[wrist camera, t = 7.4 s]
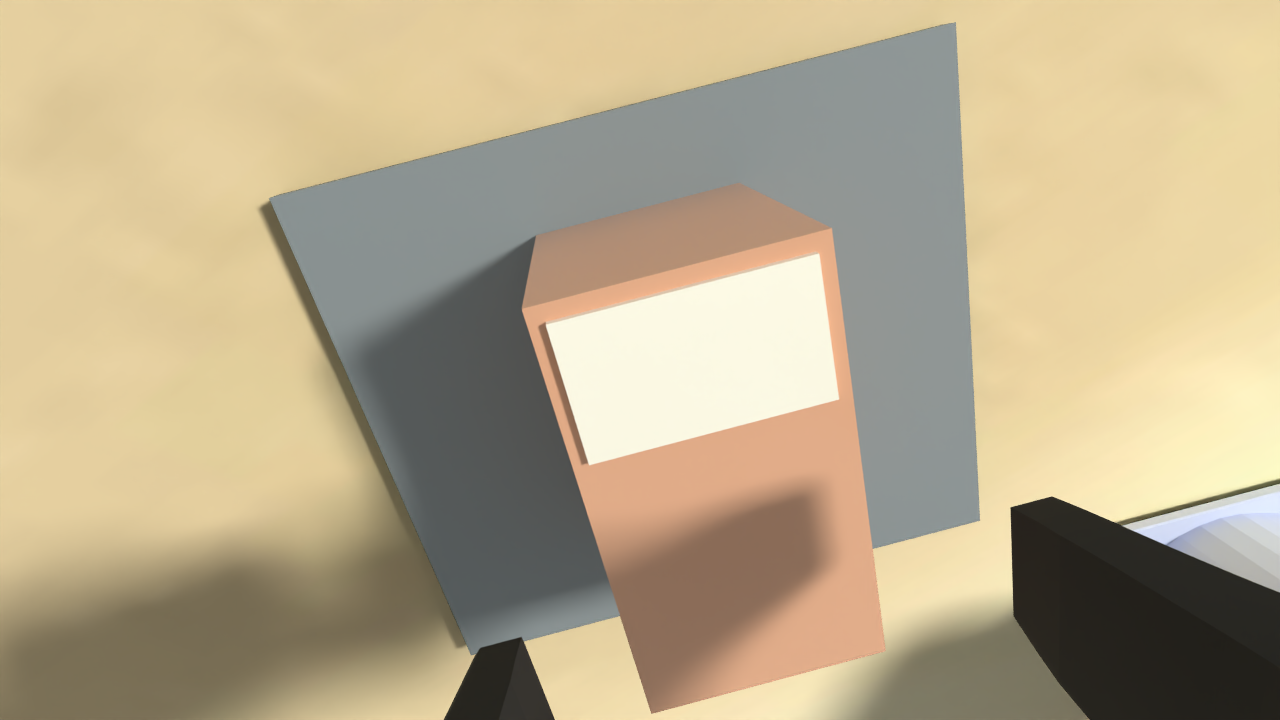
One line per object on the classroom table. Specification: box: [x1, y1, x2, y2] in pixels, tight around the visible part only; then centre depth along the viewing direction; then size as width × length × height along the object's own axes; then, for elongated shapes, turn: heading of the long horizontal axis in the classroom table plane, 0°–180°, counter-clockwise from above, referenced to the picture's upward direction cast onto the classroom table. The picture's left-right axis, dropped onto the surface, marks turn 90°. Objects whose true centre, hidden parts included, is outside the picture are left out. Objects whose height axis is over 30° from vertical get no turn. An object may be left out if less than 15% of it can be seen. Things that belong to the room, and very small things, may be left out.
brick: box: [522, 183, 885, 714], centre depth 15 cm, size 9×5×6 cm, turn 13°
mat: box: [269, 22, 980, 655], centre depth 18 cm, size 16×14×1 cm
